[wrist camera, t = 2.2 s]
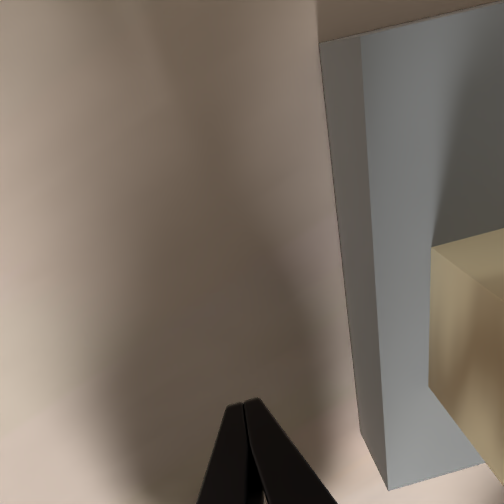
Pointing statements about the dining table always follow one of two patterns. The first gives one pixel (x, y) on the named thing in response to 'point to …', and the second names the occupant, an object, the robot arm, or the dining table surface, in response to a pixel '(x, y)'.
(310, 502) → the robot arm
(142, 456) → the dining table surface
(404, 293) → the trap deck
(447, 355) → the beech block
